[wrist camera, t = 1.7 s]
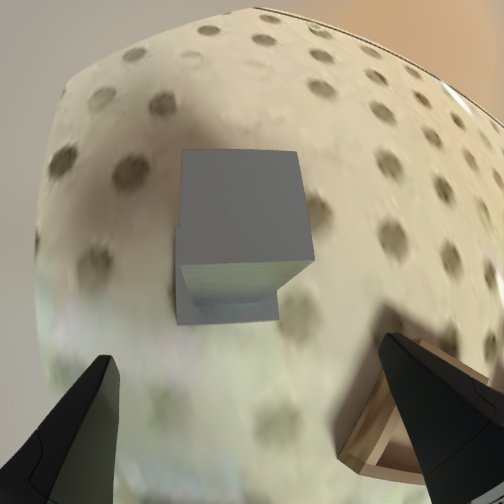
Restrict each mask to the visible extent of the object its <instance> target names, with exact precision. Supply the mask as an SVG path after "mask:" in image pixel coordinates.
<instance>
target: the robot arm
mask: <svg viewBox="0 0 504 504" xmlns="http://www.w3.org/2000/svg"><path fill="white" fill-rule="evenodd" d="M378 355H379V358H380V361H381V365H382V368H383V371H384V374H385V377H386V380H387V384H388V387H389V389H390V392H391V395H392V397H393V399H394V402H395V404H396V406H397V409H398V411H399V414H400V416H401V419H402V421H403V424H404V426H405V429H406V431H407V434H408V436H409V439H410V442H411V444H412V447H413V449H414V452H415V455H416V458H417V460H418V463H419V466H420V469H421V472H422V474H423V477H424V481H425V484H426V487H427V490H428V493H429V496H430V499H431V502H432V504H467V503H469V502H472V503H471V504H504V394H502V393H500V392H498V391H496V390H494V389H492V388H490V387H489V386H487V385H485V384H483V383H482V382H480V381H478V380H476V379H475V378H473V377H472V376H471V377H470V375H468V374H467V373H465V372H463V371H462V370H460V369H458V368H457V367H455V366H453V365H452V364H450V363H448V362H447V361H445V360H444V359H442V358H440V357H439V356H437V355H435V354H434V353H432V352H430V351H429V350H427V349H425V348H424V347H422V346H420V345H419V344H417V343H415V342H414V341H412V340H410V339H409V338H407V337H405V336H404V335H402V334H400V333H399V332H397V331H393V332H388V333H386V334H385V335H384V337H383V340H382V342H381V344H380V346H379V349H378ZM119 388H120V374H119V371H118V368H117V366H116V363H115V361H114V359H113V357H112V356H111V355H99V356H98V357H97V358H96V359H95V360H94V361H93V362H92V364H91V365H90V366H89V367H88V368H87V369H86V370H85V372H84V373H83V374H82V375H81V376H80V377H79V378H78V380H77V381H76V382H75V383H74V384H73V385H72V387H71V388H70V389H69V390H68V391H67V393H66V394H65V395H64V396H63V397H62V398H61V400H60V401H59V402H58V403H57V404H56V406H55V407H54V408H53V409H52V410H51V412H50V413H49V414H48V415H47V416H46V418H45V419H44V420H43V421H42V423H41V424H40V425H39V426H38V428H37V429H38V430H37V429H36V430H35V431H34V432H33V434H32V435H31V436H30V437H29V439H28V440H27V441H26V442H25V444H24V445H23V446H22V447H21V448H20V449H19V450H18V451H17V452H16V453H15V455H14V456H13V457H12V458H11V459H10V460H9V461H8V462H7V463H6V464H5V465H4V466H3V467H2V468H1V469H0V504H113V482H114V466H115V453H116V443H117V433H118V424H119Z"/></svg>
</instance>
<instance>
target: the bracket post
mask: <svg viewBox="0 0 504 504" xmlns="http://www.w3.org/2000/svg"><path fill="white" fill-rule="evenodd" d="M313 261H315V256H314V249H313V243H312V236H311V229H310V223H309V217H308V211H307V205H306V199H305V193H304V187H303V182H302V176H301V171H300V166H299V161H298V156H297V152H295V151H277V150H250V149H193V150H182V161H181V183H180V219H179V227H175V280H176V314H177V325H178V326H195V325H219V324H237V323H253V322H266V321H276V320H279V311H278V301H277V290H278V289H279V288H280V287H282V286H283V285H284V284H285V283H287V282H288V281H289V280H291V279H292V278H293V277H294V276H296V275H297V274H298V273H299V272H301V271H302V270H303V269H305V268H306V267H307V266H308V265H310V264H311V263H312V262H313Z"/></svg>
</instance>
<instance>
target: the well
mask: <svg viewBox="0 0 504 504" xmlns="http://www.w3.org/2000/svg"><path fill="white" fill-rule="evenodd" d="M412 341H414V342H415V343H417V344H419V345H420V346H422V347H424V348H425V349H427V350H429V351H430V352H432V353H434V354H435V355H437V356H439V357H440V358H442V359H444V360H445V361H447V362H448V363H450V364H452V365H453V366H455V367H457V368H458V369H460V370H462V371H463V372H465V373H467V374H468V375H470V377H471V376H472V377H473V378H475V379H476V380H478V381H480V382H482V383H483V384H485V385H487V383H488V380H489V379H488V378H487V377H485V376H483V375H482V374H480V373H478V372H477V371H475V370H473V369H472V368H470V367H468V366H467V365H465V364H463V363H462V362H460V361H458V360H457V359H455V358H453V357H452V356H450V355H448V354H447V353H445V352H443V351H442V350H440V349H438V348H437V347H435V346H433V345H432V344H430V343H428V342H426V341H425V340H423V339H412ZM337 459H338V460H339V461H341V462H342V463H343V464H345V465H346V466H347V467H349V468H350V469H351V470H353V471H354V472H356V473H357V474H358V475H362V476H367V477H372V478H377V479H383V480H388V481H395V482H401V483H409V484H417V485H426V484H425V481H424V477H423V474H422V472H421V469H420V466H419V463H418V460H417V458H416V455H415V452H414V449H413V447H412V444H411V442H410V439H409V436H408V434H407V431H406V429H405V426H404V424H403V421H402V419H401V416H400V414H399V411H398V409H397V406H396V404H395V402H394V399H393V397H392V395H391V392H390V389H389V387H388V384H387V380H386V377H385V374H384V371H383V369H382V371H381V374H380V376H379V378H378V381H377V383H376V385H375V387H374V389H373V392H372V394H371V396H370V398H369V400H368V402H367V404H366V406H365V408H364V410H363V412H362V414H361V416H360V418H359V420H358V422H357V424H356V426H355V428H354V430H353V432H352V433H351V435H350V437H349V439H348V441H347V442H346V444H345V446H344V448H343V449H342V451H341V453H340V454H339V456H338V458H337Z"/></svg>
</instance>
